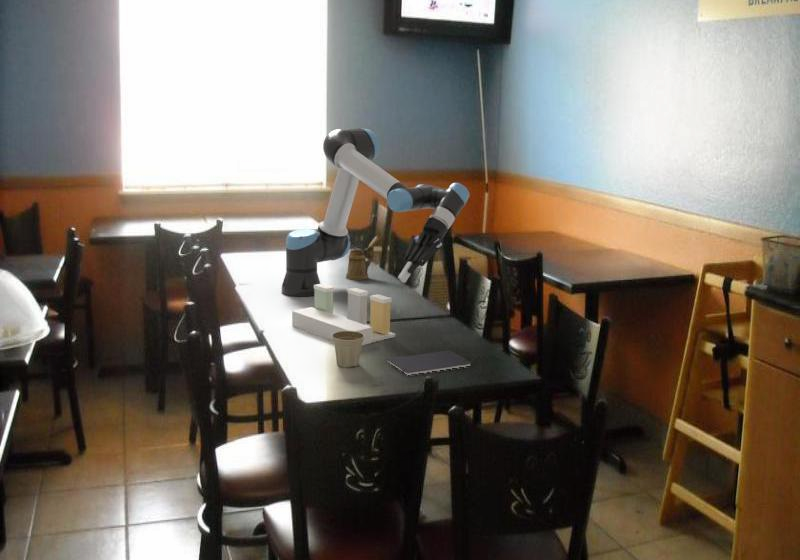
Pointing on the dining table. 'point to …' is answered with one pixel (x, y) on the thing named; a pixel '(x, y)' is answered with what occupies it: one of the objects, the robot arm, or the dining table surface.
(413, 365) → the notebook
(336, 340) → the flower pot
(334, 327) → the keypad base
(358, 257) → the wooden mug
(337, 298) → the dining table surface
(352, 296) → the grey tall block
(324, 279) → the dining table surface
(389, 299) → the yellow tall block
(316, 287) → the pale green tall block
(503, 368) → the dining table surface
